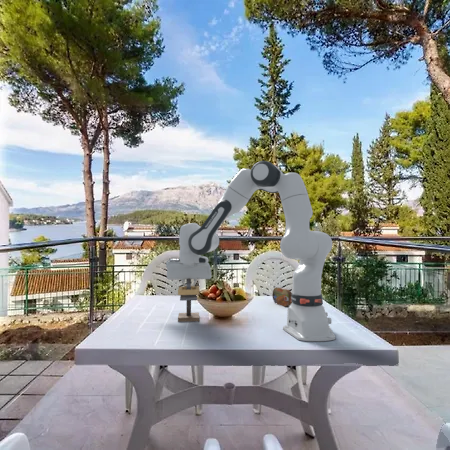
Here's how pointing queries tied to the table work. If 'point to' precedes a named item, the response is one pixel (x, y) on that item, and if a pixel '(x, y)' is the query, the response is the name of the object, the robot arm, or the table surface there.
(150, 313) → the table surface
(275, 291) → the tin
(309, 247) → the robot arm
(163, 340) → the table surface
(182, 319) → the stand
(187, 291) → the tan rectangular frame
